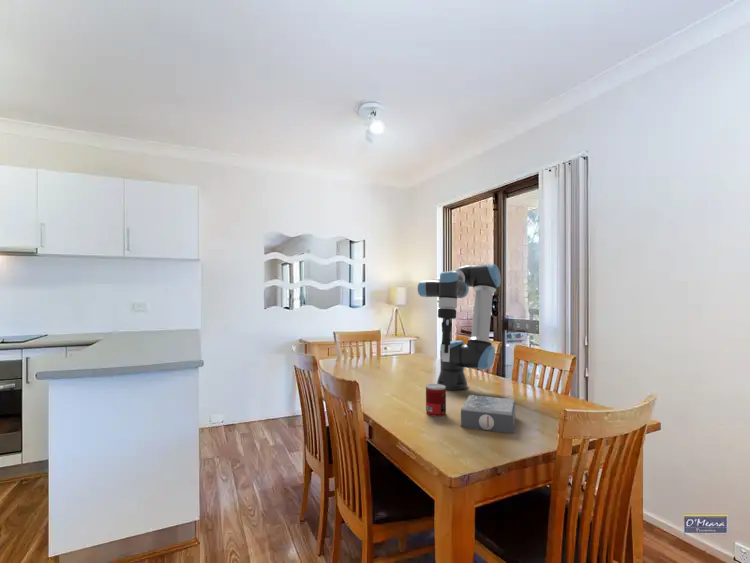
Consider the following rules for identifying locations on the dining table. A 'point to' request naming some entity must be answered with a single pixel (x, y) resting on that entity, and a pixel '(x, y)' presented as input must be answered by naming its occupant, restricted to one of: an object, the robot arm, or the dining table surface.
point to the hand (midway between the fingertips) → (445, 360)
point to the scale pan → (489, 405)
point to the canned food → (435, 399)
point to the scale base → (488, 421)
